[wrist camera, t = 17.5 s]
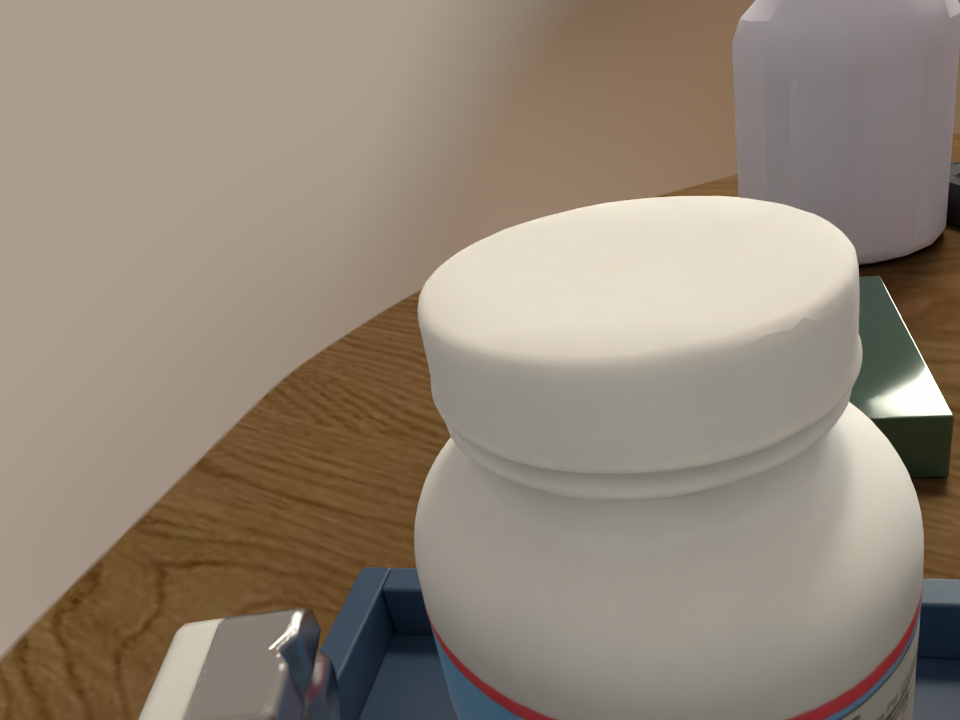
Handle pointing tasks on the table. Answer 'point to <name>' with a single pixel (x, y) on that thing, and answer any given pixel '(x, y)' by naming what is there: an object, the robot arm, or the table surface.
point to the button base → (900, 386)
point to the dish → (423, 688)
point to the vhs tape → (954, 195)
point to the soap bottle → (850, 115)
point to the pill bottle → (663, 474)
